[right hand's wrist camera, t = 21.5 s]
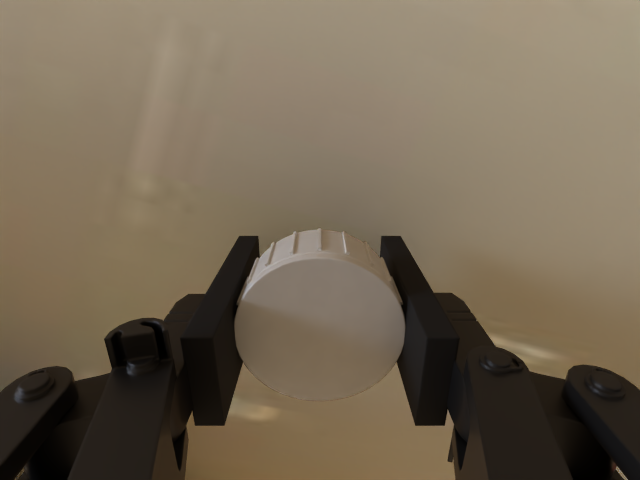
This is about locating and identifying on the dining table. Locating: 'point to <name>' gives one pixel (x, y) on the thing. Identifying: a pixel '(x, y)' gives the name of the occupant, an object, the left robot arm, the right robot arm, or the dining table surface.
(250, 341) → the lid
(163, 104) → the dining table surface
